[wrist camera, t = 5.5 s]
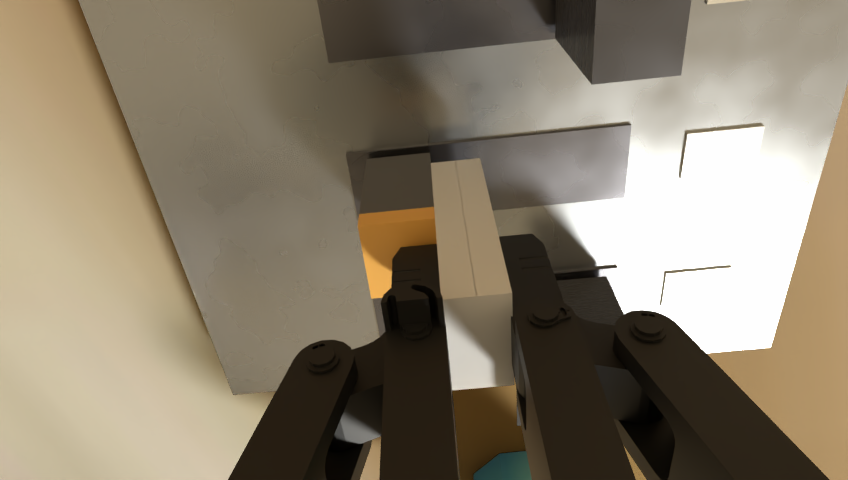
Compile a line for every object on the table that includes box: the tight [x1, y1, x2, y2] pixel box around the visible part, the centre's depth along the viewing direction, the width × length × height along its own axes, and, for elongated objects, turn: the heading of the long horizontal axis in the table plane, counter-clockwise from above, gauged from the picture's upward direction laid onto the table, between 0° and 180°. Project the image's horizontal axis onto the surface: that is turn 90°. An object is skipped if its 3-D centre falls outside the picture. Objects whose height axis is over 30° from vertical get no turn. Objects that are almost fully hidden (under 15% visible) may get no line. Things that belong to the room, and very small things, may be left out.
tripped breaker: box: [358, 153, 437, 299], centre depth 18 cm, size 2×2×4 cm
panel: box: [78, 0, 848, 395], centre depth 19 cm, size 22×18×6 cm
